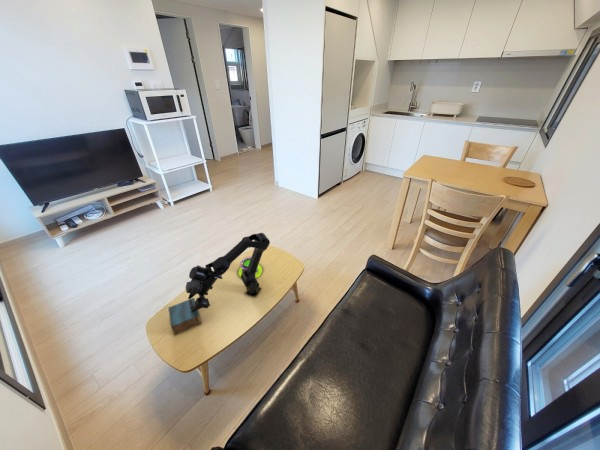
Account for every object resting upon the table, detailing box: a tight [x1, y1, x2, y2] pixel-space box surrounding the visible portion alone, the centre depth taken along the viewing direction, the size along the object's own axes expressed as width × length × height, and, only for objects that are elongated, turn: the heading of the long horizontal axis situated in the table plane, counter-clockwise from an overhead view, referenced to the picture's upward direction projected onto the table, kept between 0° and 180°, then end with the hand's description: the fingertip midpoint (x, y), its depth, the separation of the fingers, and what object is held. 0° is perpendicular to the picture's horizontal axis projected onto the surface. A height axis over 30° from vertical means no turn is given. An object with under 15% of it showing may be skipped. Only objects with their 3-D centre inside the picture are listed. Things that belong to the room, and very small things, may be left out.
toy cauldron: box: [238, 255, 263, 279], centre depth 151 cm, size 15×15×11 cm
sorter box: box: [171, 315, 201, 335], centre depth 123 cm, size 12×12×6 cm
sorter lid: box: [168, 297, 200, 328], centre depth 120 cm, size 13×12×4 cm
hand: (190, 305), depth 121 cm, fingers open, 9 cm apart
